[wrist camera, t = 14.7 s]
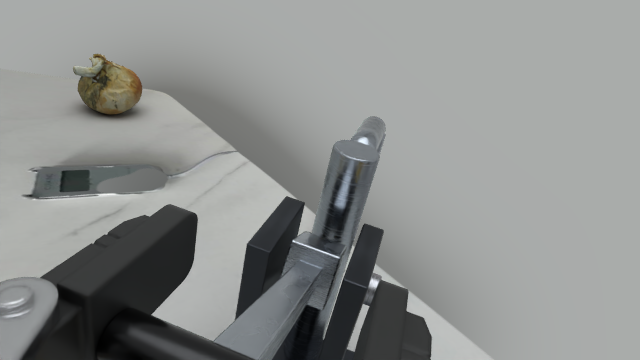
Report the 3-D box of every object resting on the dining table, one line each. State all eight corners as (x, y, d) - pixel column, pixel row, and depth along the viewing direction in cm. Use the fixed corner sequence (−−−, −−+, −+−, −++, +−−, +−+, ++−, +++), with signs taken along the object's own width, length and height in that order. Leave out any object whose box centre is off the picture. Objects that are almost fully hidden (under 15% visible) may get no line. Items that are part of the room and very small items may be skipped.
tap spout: (312, 370, 26) (376, 165, 19) (277, 356, 26) (328, 150, 19) (341, 288, 33) (396, 119, 26) (314, 278, 33) (361, 108, 26)
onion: (137, 124, 55) (137, 66, 51) (71, 117, 52) (66, 56, 49) (145, 105, 61) (145, 52, 57) (86, 98, 59) (82, 43, 55)
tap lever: (312, 512, 7) (353, 391, 7) (79, 401, 8) (112, 289, 8) (359, 302, 19) (375, 255, 19) (264, 266, 20) (278, 221, 20)
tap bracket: (313, 591, 17) (412, 400, 11) (137, 501, 19) (136, 287, 13) (363, 369, 28) (429, 206, 22) (247, 322, 29) (277, 156, 23)
